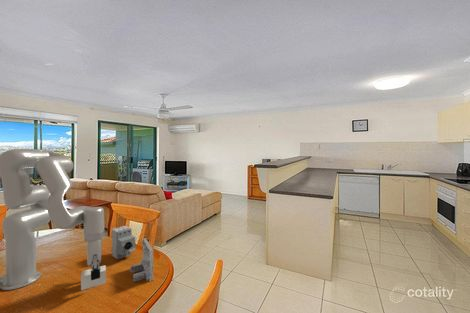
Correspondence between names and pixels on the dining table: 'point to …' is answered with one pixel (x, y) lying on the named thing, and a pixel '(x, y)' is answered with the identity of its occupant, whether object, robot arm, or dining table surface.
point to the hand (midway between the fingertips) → (95, 273)
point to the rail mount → (144, 264)
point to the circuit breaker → (122, 242)
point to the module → (89, 283)
